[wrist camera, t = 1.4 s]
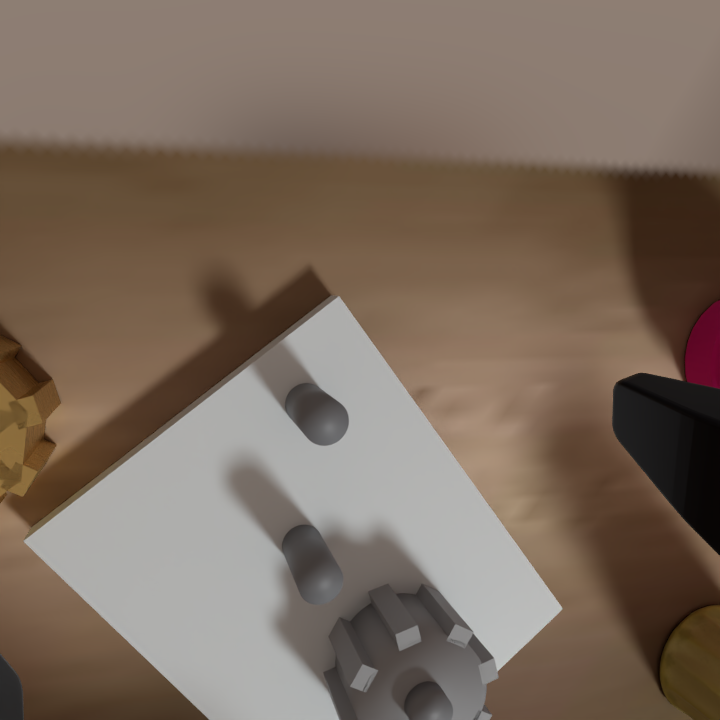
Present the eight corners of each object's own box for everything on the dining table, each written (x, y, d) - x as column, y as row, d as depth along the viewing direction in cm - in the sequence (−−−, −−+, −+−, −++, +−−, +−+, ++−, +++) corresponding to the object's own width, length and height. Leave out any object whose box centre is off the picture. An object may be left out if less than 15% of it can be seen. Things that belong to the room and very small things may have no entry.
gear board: (321, 809, 27) (354, 928, 22) (31, 527, 22) (-11, 599, 17) (547, 595, 29) (624, 660, 24) (331, 295, 24) (371, 298, 19)
